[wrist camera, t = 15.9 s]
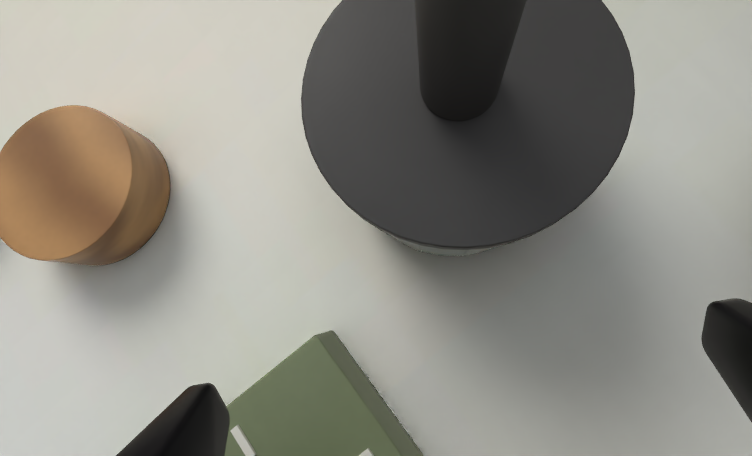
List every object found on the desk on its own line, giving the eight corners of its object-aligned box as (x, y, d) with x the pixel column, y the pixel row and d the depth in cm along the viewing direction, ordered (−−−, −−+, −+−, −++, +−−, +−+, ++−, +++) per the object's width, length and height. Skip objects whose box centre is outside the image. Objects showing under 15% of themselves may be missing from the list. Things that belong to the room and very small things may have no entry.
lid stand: (82, 295, 23) (29, 294, 20) (20, 187, 24) (-37, 171, 21) (196, 203, 23) (161, 189, 20) (126, 102, 24) (84, 75, 21)
